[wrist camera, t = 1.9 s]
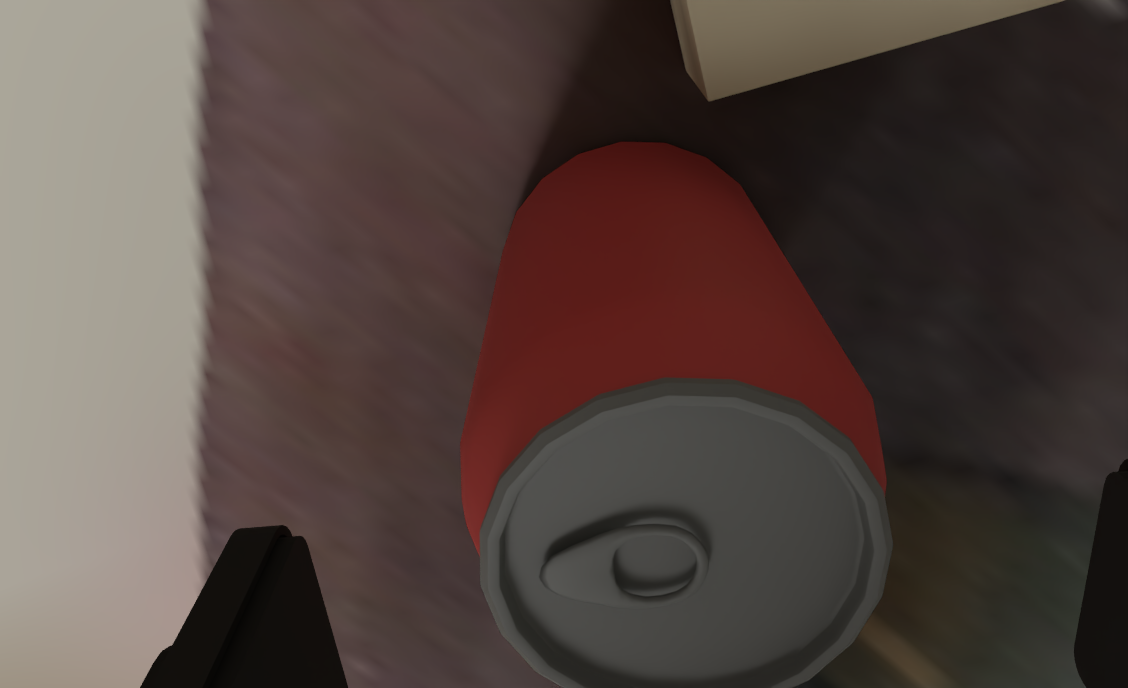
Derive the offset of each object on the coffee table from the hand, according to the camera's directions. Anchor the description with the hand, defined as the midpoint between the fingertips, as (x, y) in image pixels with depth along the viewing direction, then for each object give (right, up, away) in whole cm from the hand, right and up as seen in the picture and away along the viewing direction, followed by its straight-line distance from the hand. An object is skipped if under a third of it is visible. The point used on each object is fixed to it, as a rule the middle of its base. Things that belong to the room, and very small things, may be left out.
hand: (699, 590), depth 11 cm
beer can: (0, +5, +12) cm, 13 cm away
